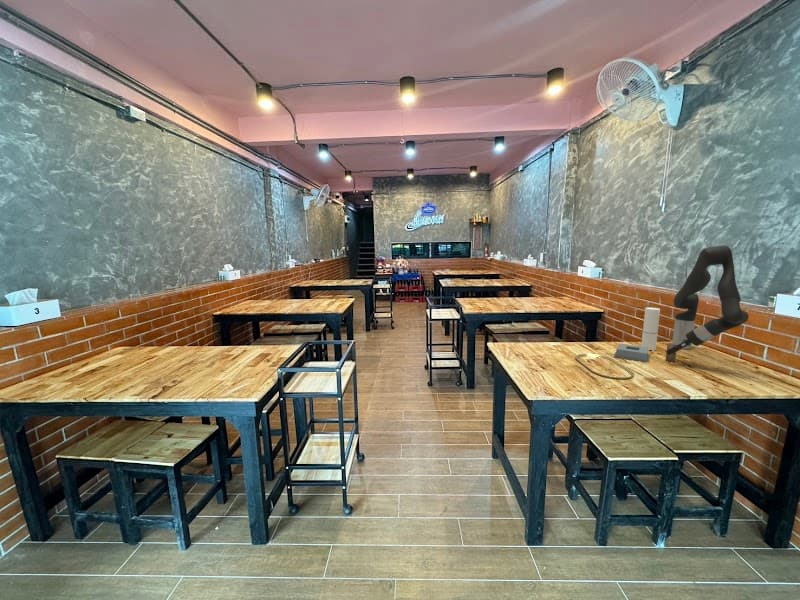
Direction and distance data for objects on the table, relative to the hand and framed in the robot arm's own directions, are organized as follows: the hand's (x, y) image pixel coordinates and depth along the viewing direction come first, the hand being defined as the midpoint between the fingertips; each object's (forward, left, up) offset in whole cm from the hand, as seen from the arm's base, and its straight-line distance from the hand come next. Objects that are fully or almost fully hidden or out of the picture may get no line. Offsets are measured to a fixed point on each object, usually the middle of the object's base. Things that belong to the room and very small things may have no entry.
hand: (669, 351), depth 181 cm
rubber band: (+30, -27, -6) cm, 41 cm away
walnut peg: (0, +1, -5) cm, 5 cm away
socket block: (+2, -16, -5) cm, 17 cm away
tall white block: (-19, -9, -5) cm, 22 cm away
